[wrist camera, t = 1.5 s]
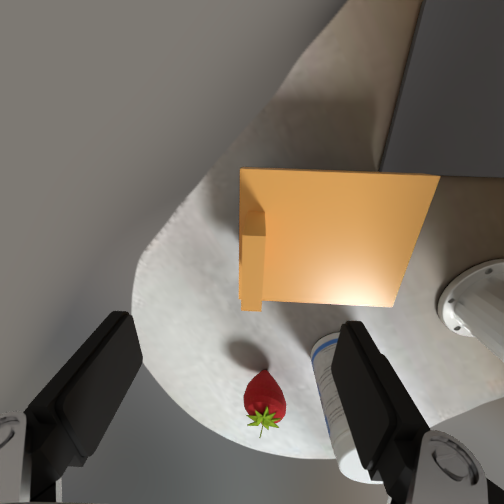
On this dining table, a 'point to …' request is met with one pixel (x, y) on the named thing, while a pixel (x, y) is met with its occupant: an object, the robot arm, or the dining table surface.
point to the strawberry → (264, 401)
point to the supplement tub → (336, 411)
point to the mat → (451, 93)
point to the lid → (328, 234)
